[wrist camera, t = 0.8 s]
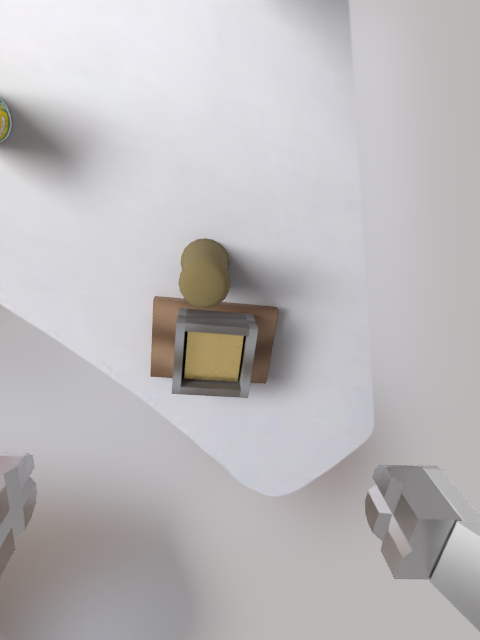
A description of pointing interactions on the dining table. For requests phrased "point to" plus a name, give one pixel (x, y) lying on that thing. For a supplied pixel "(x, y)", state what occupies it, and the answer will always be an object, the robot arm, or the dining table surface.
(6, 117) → the supplement bottle
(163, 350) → the holder
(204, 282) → the tan rounded piece
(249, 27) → the dining table surface
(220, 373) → the spring seat
